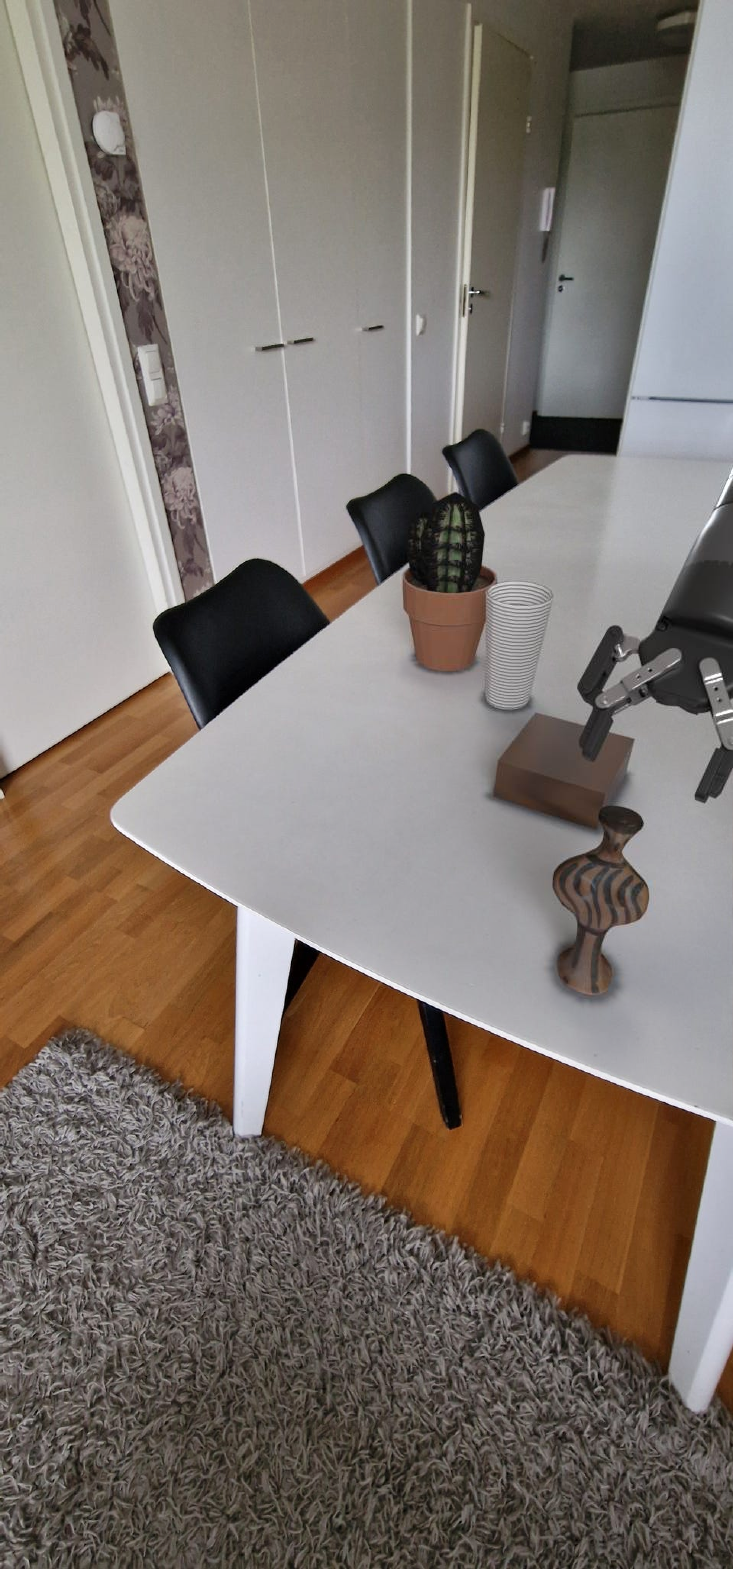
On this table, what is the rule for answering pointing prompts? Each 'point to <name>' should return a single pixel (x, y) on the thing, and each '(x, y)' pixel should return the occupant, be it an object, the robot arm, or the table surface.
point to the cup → (514, 640)
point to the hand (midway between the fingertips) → (641, 778)
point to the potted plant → (446, 583)
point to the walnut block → (561, 771)
